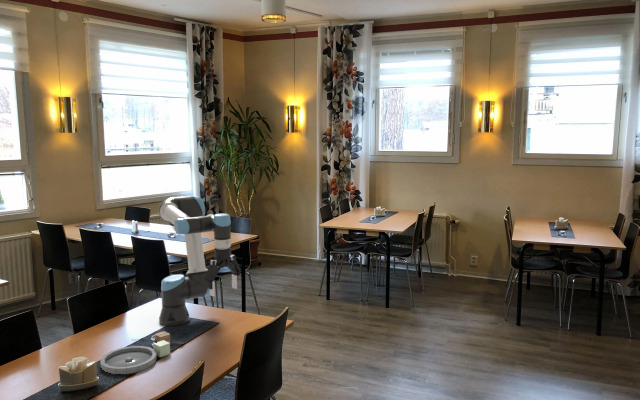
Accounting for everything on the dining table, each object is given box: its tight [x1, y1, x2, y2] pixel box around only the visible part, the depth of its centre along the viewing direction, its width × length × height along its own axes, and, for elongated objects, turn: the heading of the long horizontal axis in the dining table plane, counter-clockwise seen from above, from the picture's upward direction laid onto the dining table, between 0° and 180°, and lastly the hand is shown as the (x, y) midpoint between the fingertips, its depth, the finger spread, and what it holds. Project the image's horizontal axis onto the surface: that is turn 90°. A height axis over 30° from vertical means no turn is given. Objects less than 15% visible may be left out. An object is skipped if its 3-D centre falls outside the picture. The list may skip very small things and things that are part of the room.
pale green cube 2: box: [153, 340, 171, 358], centre depth 230 cm, size 5×5×5 cm
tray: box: [100, 345, 158, 375], centre depth 221 cm, size 22×22×3 cm
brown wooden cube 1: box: [154, 331, 171, 344], centre depth 240 cm, size 5×5×5 cm
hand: (223, 291), depth 243 cm, fingers open, 13 cm apart
